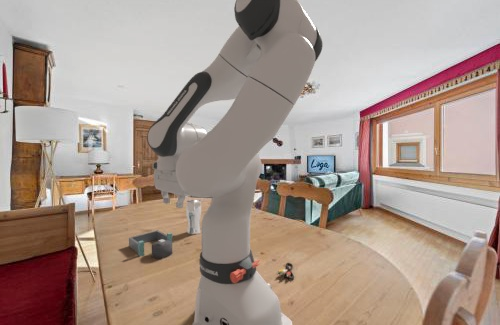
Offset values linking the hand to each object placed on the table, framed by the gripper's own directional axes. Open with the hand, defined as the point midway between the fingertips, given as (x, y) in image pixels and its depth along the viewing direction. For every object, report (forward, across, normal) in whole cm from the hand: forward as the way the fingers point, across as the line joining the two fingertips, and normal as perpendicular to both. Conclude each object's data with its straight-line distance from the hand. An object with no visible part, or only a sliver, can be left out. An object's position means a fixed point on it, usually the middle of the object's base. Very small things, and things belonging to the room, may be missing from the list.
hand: (172, 205), depth 72 cm
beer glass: (+20, +19, -20) cm, 34 cm away
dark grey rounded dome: (+20, +8, 0) cm, 21 cm away
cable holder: (+20, +19, 0) cm, 28 cm away
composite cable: (+20, -33, -21) cm, 44 cm away
